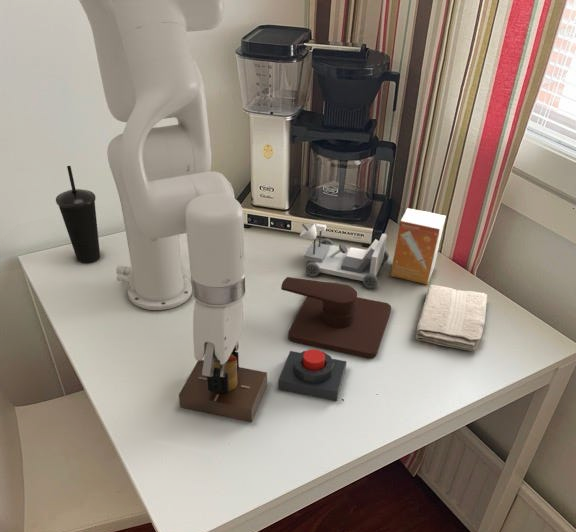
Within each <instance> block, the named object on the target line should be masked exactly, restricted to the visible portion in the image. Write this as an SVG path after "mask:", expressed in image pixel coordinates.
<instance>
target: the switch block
mask: <svg viewBox="0 0 576 532" xmlns="http://www.w3.org/2000/svg"><path fill="white" fill-rule="evenodd" d="M306 351H307V350H303V351H301V352H299V351H293V350H290V351H289V353H288V355H287V358H286V360H285V363H284V365H283V368H282V370H281V372H280V375H279V378H278V381H277V389H278V390H279V391H283V392H288V393H293V394H298V395H303V396H309V397H313V398H319V399H324V400H330V401H333V402H334V401H335V402H338V399H339V398H338V397H339V395H340V392H341V388H342V385H343V381H344V377H345V374H346V369H347V360H342V359H337V358H332V356H331V355H329V354H328V353H326V352H324V351H322V350H321V351H322V352H323V353H324V354H325V364H324V367H323V368H322V369H321V370H317V371H312V370H308V369H306V368H305V367H304V366H303V355H304V353H305V352H306Z"/></svg>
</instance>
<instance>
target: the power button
mask: <svg viewBox="0 0 576 532" xmlns="http://www.w3.org/2000/svg"><path fill="white" fill-rule="evenodd" d="M305 351H306V352H305V353H304V355H303V366H304V367H305V368H306V369H308V370H312V371H317V370H321V369H322V368H323V367H324V364H325V354H324V353H325V352H324V351H323V352H324V353H323V352H322V350H319V349H318V348H316V349H315V348H310V349H308V350H305Z"/></svg>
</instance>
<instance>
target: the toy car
mask: <svg viewBox="0 0 576 532" xmlns="http://www.w3.org/2000/svg"><path fill="white" fill-rule="evenodd" d="M301 226H302V227H303V228H304V229H303V230H302V231H301V233H300V234H299V237H301V238H303V239H305V240H309V241H312V242H311V243H310V245H309V247H308V248H307V250H306V252H305V253H304V255H303V260H304V261H310V262H308V263H307V264H306V266H305V269H304V270H305V273H306V275H307V276H309V277H312V278H313V277H318V275H319V274H320V273H323V274H327V275H331V276H332V275H333V276H336V277H341V278H346V279H351V280H357V281H361V282H362V284H363V286H364V287H365V288H367V289H370V290H371V289H372V290H373V289H375V288H377V286H378V284H379V279H378V277H377V275H378V272H379V270H380V268H381V266H382V264H384V263H386V262H388V261H389V258H390V254H389V252H388V251H387V250H386V246H387V245H386V244H387V239H388V238H387V237H388V234H387V233H382V234H381V236H380V238H379V240H378V239H376V238H375V240H373V241H372V243H371V244H370V245H369V246H368V248H367V249H362V248H357V247H352V246H351V247H350V248H348V247H347V246H346V244H345V243H341V244H339V245H335V244H334V241H333V240H331V239H330V238H323V239H322V232H326V230H327V224H321V223H315V222H312V223H310V224H309V225H308V226H306V224H304V223H302V224H301ZM317 231H319V233H318V232H317ZM317 233H318V234H317ZM317 235H319V237H318V242H317Z"/></svg>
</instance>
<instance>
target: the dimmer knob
mask: <svg viewBox="0 0 576 532" xmlns="http://www.w3.org/2000/svg"><path fill="white" fill-rule="evenodd" d="M214 367H215V368H219V369H220V363H218V362H214ZM225 373H228V388H229V391H231V390H233V389H234V388H235V387H236V386H237V383H238V379H237V359H236V357H235V356H234V355H232V354H231V355H230V357H229V358H228V360H227V362H226V370H225Z"/></svg>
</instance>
